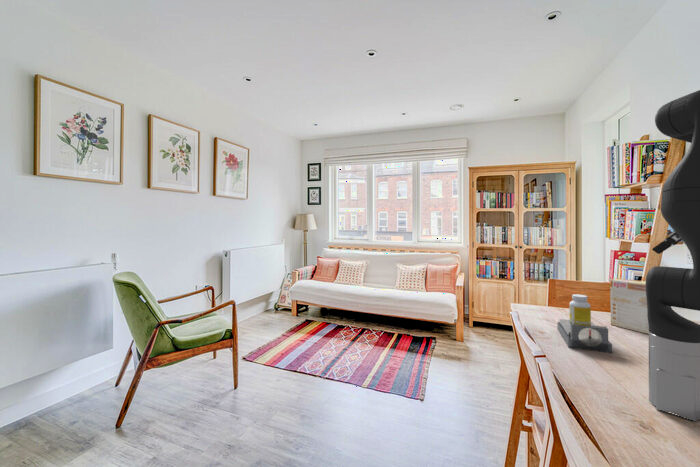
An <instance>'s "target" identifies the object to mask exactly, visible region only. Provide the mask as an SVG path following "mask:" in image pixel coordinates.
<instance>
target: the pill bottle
mask: <svg viewBox="0 0 700 467" xmlns="http://www.w3.org/2000/svg"><path fill="white" fill-rule="evenodd" d="M571 299H572V300H571V301H570V302H569V305H568V306H569V308H568V309H569V311H568V312H569V320H570V323H571V324H582V325H591V322H592V318H591V316H592V314H591V313H592V309H591V308H592V307H591V306H592V305H591V304H590V303H589V302H588V300H589V299H588V296H587V295H586V294H578V293H576V294H575V293H573V294H572V296H571Z"/></svg>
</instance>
